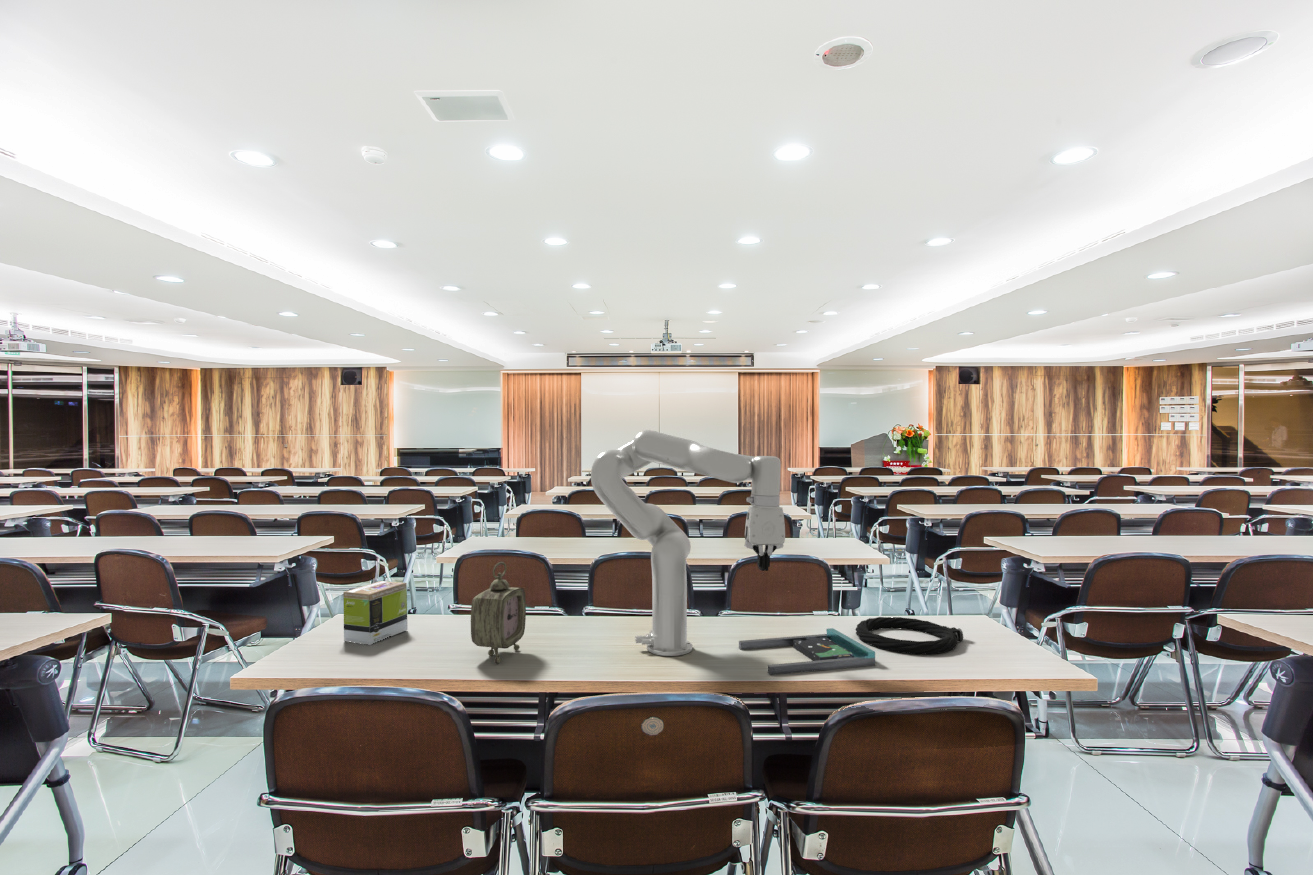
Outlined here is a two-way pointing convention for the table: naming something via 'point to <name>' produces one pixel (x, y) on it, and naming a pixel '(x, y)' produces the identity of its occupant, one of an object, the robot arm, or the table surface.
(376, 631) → the tea box
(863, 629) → the cable lock
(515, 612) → the tabletop clock
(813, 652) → the disk drive
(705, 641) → the table surface
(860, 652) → the guide track
